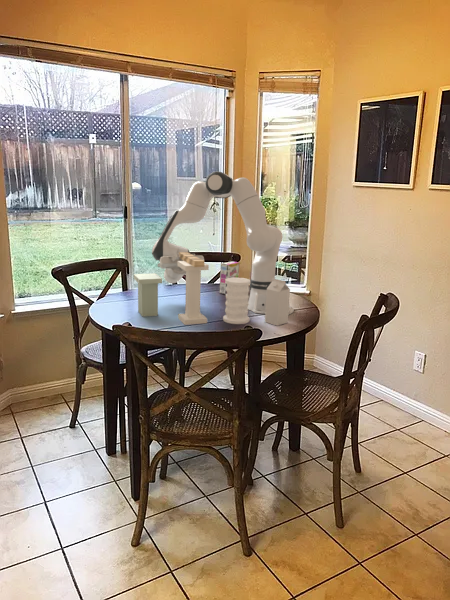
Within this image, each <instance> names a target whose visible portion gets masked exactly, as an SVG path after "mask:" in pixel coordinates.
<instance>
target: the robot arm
mask: <svg viewBox="0 0 450 600" xmlns="http://www.w3.org/2000/svg"><path fill="white" fill-rule="evenodd" d="M259 196H260V195H259V194H258V192H257V190H256V189H255V187H254V185H253V184H252V182H251V181H250V180H249V179H248V178H247V177H238V178H235V179H233V178H232V177H231V176H229V175H228V174H226V173H225V172H222V171H213V172H211V173H209V174H208V175H207V176H206V179H205V181H201V180H199V181H195V182H194V183H193V184H192V186H191V187H190V189H189V191H188V193H187V196H186V198H185V201H184V203H183V205H182V206H181V207H180V208H178V209H175V210H174V211H173V213H172V214H171V216H170V217H169V219H168V221H167V223H166V225H165V226H164V228H163V230H162V231H161V234H160V235H159V238H158V239H157V240H156V241H155V243H154V245H153V247H152V250H151V254H152V257H153V258H154V259H155V260H156V261H159V262H158V263H157V264H156V265H157V267H158V268H160V269H163V270H164V272H163V278H164V280H165V281H166V282H167V283H169V284H176V283H178V282H180V281H181V279H182V278H183V277H184V276H186V271H185V270H183V269H182V268H180V267H179V266H177V261H184V260H182V259H180V256H179V255H180V254H179V252H188V253H190V254H192V255H194V256H196V257H198V258H200V259H202V260H203V261H204V262H205V257H204V256H203V255H202V254H201V255H196V254H195V253H191V252H190V250H189V248H187V247H184V246H181V245H177V244H174V243H171V242H169V241H168V240H169V239H170V236H171V235H172V233H173V231H174V229H175V227H177V226H178V225H183V224H195V223H198V222H200V221H203V219H204V217H205V216H206V213H207V211H208V209H209V205H210V202H211V201H212V199H213V198H214V199H228V198H230V197H231V198H232V199H233V201H234V204H235V206H236V207H237V210H238V212H239V214H240V216H241V219H242V221H243V224H244V227H245V228H244V229H245V232H246V246H247V247H248V248H249V249H250V250H251V251H252V252H255V255H254V258H253V260H252V263H251V276H250V277H251V278H250V279H249V280H250V284H249V293H250V294H249V299H248V303H249V305H248V311H251V312H253V313H255V314H262V315H263V314H264V315H265V312H266V294H267V288H268V286H269V285H270V283H271V282H272V279H276V267H277V266H276V265H277V260H278V256H279V252H280V247H281V244H282V242H283V232H282V230H280V229H279V228H278V227H276V226H273V225H268V223H267V217H266V209H265V207H264V204H263V203H262V200H261V199H260V197H259ZM290 303H291V302H289V312H288V316H289V315H291V314H293V313H294V311H295V308H294V306H291V305H290Z"/></svg>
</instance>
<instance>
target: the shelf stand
mask: <svg viewBox="0 0 450 600" xmlns="http://www.w3.org/2000/svg"><path fill="white" fill-rule="evenodd" d="M177 266H179V267H180V268H182V269H183V270H185V271H186V275H185V313H178V315H177V317H178V320H179V321H180V322H181V323H182V324H183V325H184V326H189V325H199V324H201V325H202V324H208V318H207V317H206V316H205V315H204V314H203V313H201V285H202V284H201V280H202V271H209V270H210V269H209V267H210V266H209V264H207V263H205V262H204V267H194V266H192V265H190V264H189V263H187V262H185V261H177Z"/></svg>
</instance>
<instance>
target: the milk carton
mask: <svg viewBox="0 0 450 600" xmlns="http://www.w3.org/2000/svg"><path fill="white" fill-rule="evenodd" d="M290 293H291V289H290V287H289V286H288V285H287V284H286V281H285V280H282V279H276V278H275V279H272V282H271V283H270V285H269V286H268V288H267V294H266V312H265V314H264V315H265V316H264V322H265V323H268V324H271V325H274V326H282V325H284V324H287V323H289V315H288V312H289V303H290Z"/></svg>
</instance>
